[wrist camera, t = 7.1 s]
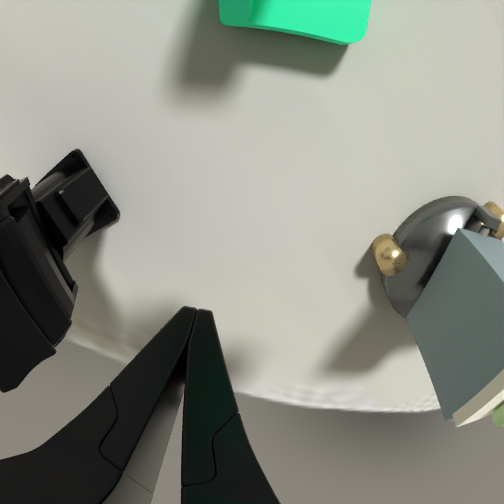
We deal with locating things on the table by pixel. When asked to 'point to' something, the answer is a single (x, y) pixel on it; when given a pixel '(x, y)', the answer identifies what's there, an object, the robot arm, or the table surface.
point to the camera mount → (301, 17)
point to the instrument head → (465, 328)
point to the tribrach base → (428, 244)
